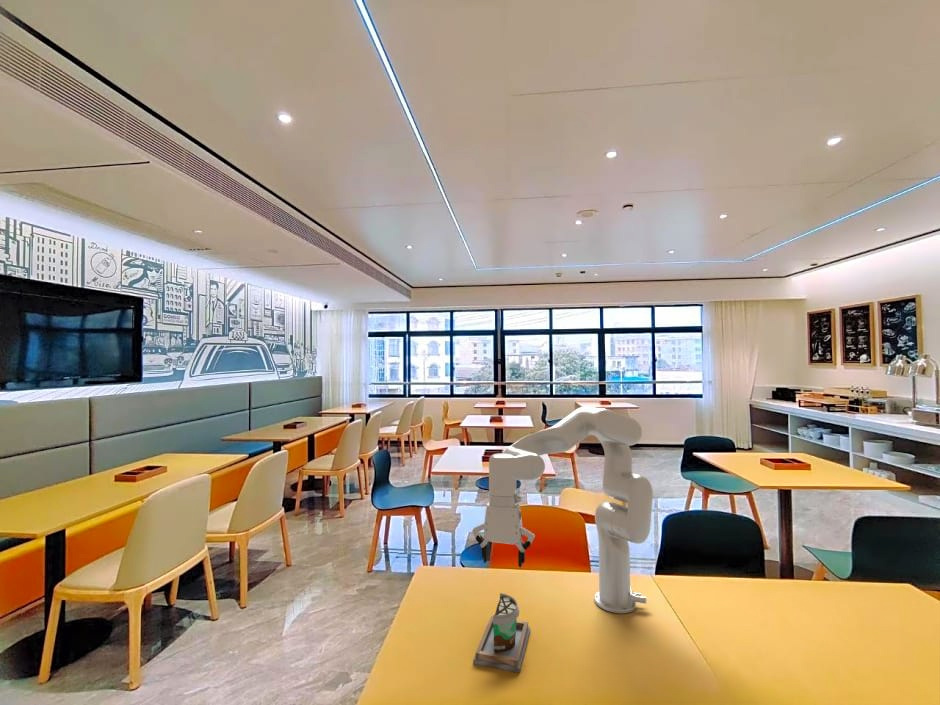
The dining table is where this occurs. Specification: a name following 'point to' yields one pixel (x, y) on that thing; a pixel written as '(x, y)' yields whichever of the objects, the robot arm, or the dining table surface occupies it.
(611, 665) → the dining table surface
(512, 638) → the food container
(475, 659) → the board
